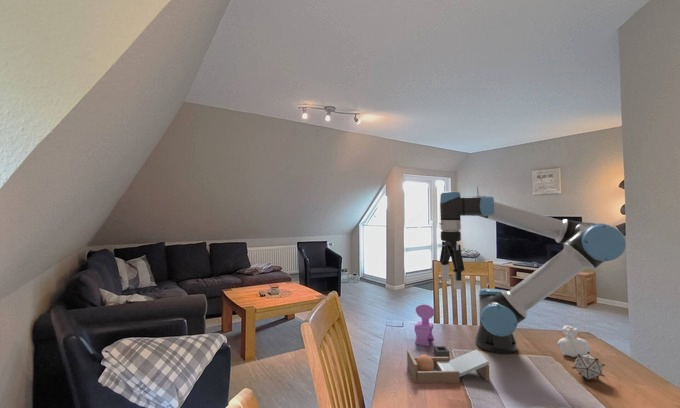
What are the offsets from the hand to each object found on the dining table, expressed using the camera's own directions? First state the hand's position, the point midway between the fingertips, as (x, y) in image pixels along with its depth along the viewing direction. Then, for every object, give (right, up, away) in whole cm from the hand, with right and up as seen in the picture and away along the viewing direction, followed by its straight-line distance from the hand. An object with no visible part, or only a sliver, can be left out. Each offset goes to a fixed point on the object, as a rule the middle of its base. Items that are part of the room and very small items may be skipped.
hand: (451, 284), depth 125 cm
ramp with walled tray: (-7, -27, -17) cm, 32 cm away
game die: (+38, -26, -20) cm, 51 cm away
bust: (+46, -27, -2) cm, 53 cm away
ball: (-14, -26, -17) cm, 34 cm away
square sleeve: (-5, -27, -3) cm, 27 cm away
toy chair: (-8, -27, +10) cm, 30 cm away
